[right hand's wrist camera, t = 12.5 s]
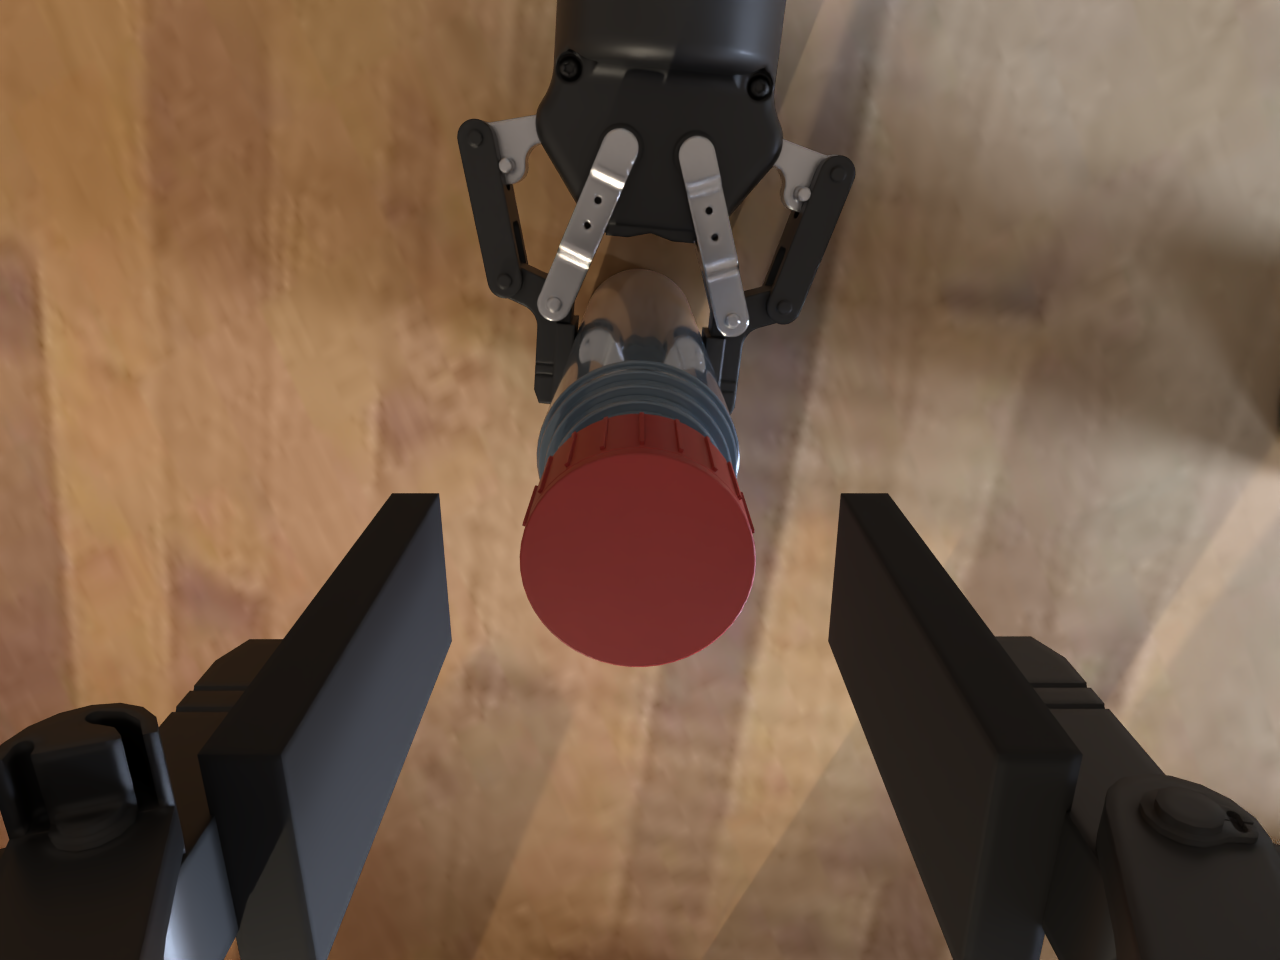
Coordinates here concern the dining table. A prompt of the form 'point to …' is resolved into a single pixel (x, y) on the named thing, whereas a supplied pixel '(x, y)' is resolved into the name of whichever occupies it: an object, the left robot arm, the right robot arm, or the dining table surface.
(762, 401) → the dining table surface
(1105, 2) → the dining table surface
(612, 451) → the cap
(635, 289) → the bottle
